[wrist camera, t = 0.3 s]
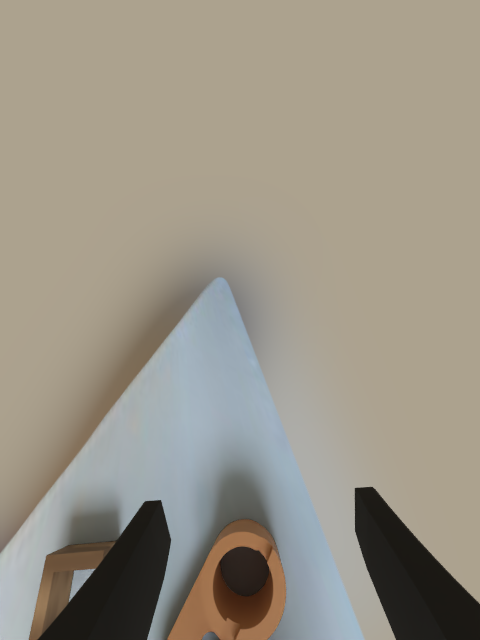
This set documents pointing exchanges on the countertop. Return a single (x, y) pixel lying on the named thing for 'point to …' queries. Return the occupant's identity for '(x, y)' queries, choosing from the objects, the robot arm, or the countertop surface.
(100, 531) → the countertop surface
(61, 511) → the countertop surface
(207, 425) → the countertop surface
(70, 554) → the jig
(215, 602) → the bracket
